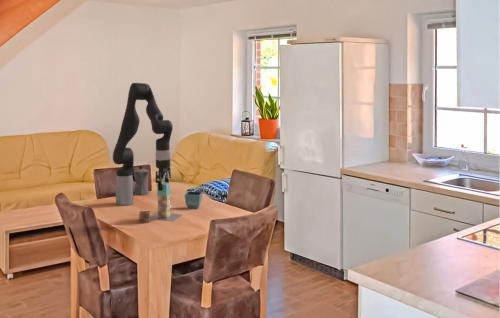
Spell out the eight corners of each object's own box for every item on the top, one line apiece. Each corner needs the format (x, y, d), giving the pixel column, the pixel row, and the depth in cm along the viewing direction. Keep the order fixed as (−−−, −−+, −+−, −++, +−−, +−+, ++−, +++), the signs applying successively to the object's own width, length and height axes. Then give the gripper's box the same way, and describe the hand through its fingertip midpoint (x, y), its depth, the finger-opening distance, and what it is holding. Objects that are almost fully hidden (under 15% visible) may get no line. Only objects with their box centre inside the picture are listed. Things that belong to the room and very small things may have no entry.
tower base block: (157, 217, 289) (157, 206, 288) (161, 215, 294) (161, 204, 293) (166, 218, 288) (166, 207, 287) (170, 215, 293) (170, 204, 292)
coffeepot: (154, 193, 352) (153, 166, 350) (143, 196, 345) (142, 168, 342) (137, 190, 361) (136, 163, 358) (126, 193, 354) (125, 165, 351)
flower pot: (202, 206, 318) (202, 191, 317) (199, 210, 310) (199, 195, 308) (187, 206, 319) (187, 191, 318) (184, 210, 311) (184, 194, 309)
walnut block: (139, 225, 280) (139, 213, 279) (140, 222, 285) (140, 211, 284) (149, 224, 280) (149, 213, 279) (150, 222, 285) (149, 211, 284)
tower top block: (158, 206, 288) (157, 195, 287) (160, 204, 293) (160, 193, 292) (167, 207, 288) (167, 195, 287) (169, 204, 292) (169, 193, 292)
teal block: (157, 195, 288) (157, 184, 287) (161, 193, 292) (161, 182, 292) (166, 195, 286) (166, 184, 286) (170, 193, 291) (169, 182, 290)
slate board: (144, 221, 287) (144, 219, 286) (155, 214, 300) (155, 212, 300) (173, 223, 283) (173, 221, 282) (183, 216, 296) (183, 214, 296)
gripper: (161, 156, 294) (162, 185, 297) (150, 160, 281) (151, 191, 283) (174, 156, 292) (175, 186, 295) (164, 160, 279) (164, 192, 281)
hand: (163, 188), depth 289 cm, fingers open, 8 cm apart
